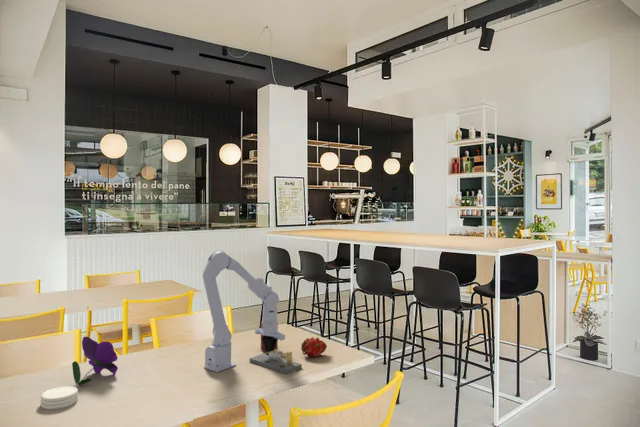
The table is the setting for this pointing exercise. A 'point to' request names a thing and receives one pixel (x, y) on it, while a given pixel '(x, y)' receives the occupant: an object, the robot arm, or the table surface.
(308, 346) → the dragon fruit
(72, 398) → the coaster
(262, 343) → the soda can
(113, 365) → the flower
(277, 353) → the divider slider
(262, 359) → the cube slider plate
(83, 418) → the table surface
